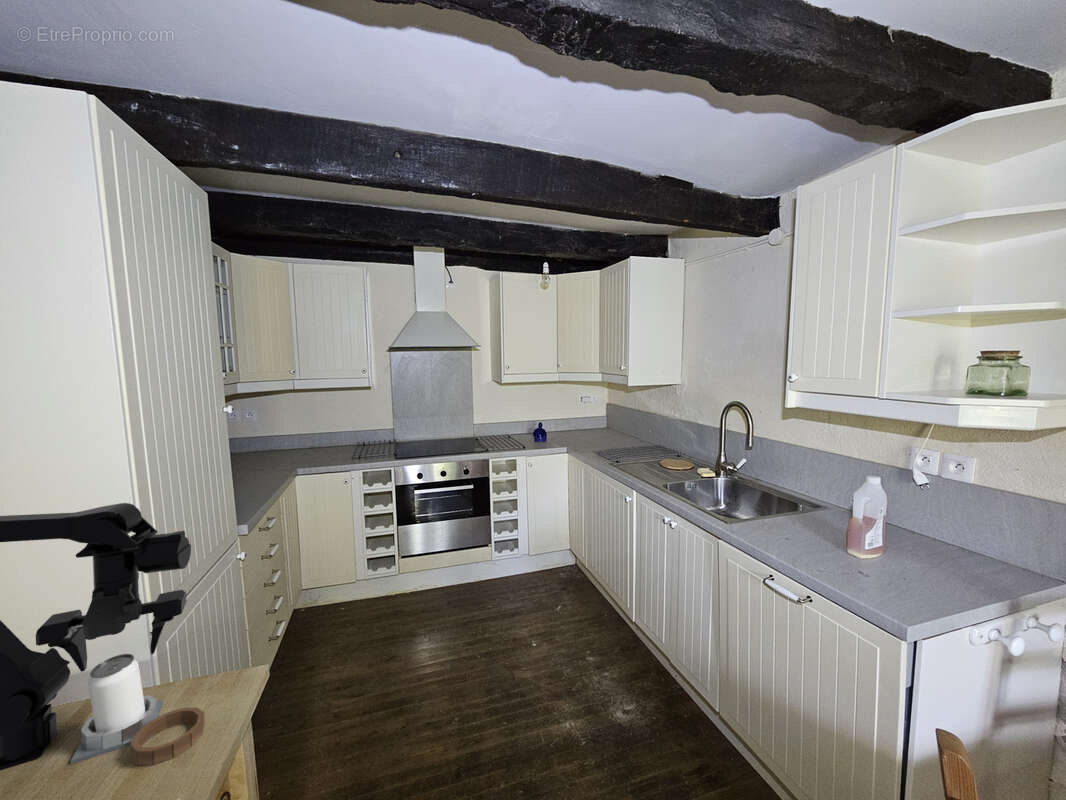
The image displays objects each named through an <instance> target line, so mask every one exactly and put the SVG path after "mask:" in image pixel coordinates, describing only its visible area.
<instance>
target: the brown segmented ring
mask: <svg viewBox="0 0 1066 800" xmlns="http://www.w3.org/2000/svg"><path fill="white" fill-rule="evenodd" d="M182 724H193V726H192V727H190V728H191V729H189V730H187V732H186V733H184V734H183V735H181V736H179V737H178V738H176V739H174V740H172V741H170V742H167V743H164V744H161V745H158V746H143V745H145V744H146V742H148V741H149V740H150V739H149V735H150V734H151V738H152V737H154V736H155V735H157V734H159V733H160V732H162V731H165V730H166V729H169V728H172V727H174V726H178V725H182ZM204 729H205V712H204V711H203V710H201V709H200V708H199V707H181V708H178V709H174V710H170V711H168V712H166V713H163V714H161V715H159V716H158V717H157V718H156V719H154V720H152V721H150V722H148V723H147V724H146V725H145V726H143V727H142V728H141V729H140V730H139V731H138V732H137V733H136V734H135V735H134V737H133V740H132V742H131V745H130V760H131V761H132V762H133V763H134V764H135V765H136V766H156V765H158V764H162V763H164V762H167V761H170V760H172V759H173V758H177V756H180V755H181V754H182V753H184V752H186V751H187V750H189V749H191V747H193V746H194V745H195V744H196V742H197V741H198V740H199V739H200V738H201V737H202V736H203V734H204Z"/></svg>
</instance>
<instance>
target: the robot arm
mask: <svg viewBox="0 0 1066 800" xmlns="http://www.w3.org/2000/svg"><path fill="white" fill-rule="evenodd" d="M130 533H134V534H132V535H129V534H130ZM43 540H45V541H46V540H69V541H73V542H76V543H79V544H86V545H85V546H84V548H83V549H81V550H80V551H79V552H77V553H76V554H75V557H76V558H77V559H79V558H87V557H92V568H93V570H92V571H93V572H92V573H93V590H92V595H91V601H90V603H89V606H88V609H87V612H86V613H85V614H83V612H82V610H81V609H75V610H71V611H70V610H69V611H66V612H59V613H55V614H51V616H50V617H48V618H47V619H46V620H45V622H44V623H42V625H41V626H40V627H39V628H38V629H37V630H36V633H35V645H36V646H39V647H41V646H44V645H47V646H48V647H49V649H47V651H46V652H45V653H44V652H39V651H35V650H31V649H30V648H29V647H28V646H27V645H25V644H24V643H23V641H22V640H21V639H19V637H18V636H17V635H15V634H14V632H13V631H12V629H10V628H9V627H8V626H7V625H6V624H5V623H4V622H3V621H2V620H1V619H0V770H3V769H5V768H9V767H13V766H16V765H19V764H22V763H25V762H29V761H31V760H35V759H38V758H40V757H42V756H43V755H44V754H45V752H46V750H47V748H48V747H49V745H51V744H52V742H53V741H54V739H55V738H56V736H57V735H58V729H57V727H58V726H57V712H54V711H53V710H52V709H53V708H52V703H50V702H51V701H53V700H54V699H55V698H56V697H57V695H58V694H59V692H60V691H61V690H62V689H63V688H64V687H65V686H66V684H67V683H68V681H69V679H70V675H71V670H70V668H69V666H68V665H69V664H70V663H71V661H69V660H67V659H65V658H63V657H62V655H60V653H59V651H58V650H57V649H56V648H55V647H57V648H60V649H63V650H64V651H65V652H67V654H68V655H69V656H70V658H71V659H72V660H73V662H74V664H75V665H76V666H77V668H78V669H79V671H80V672H81V673H82V672H85V671H86V669H87V667H88V652H87V651H88V650H87V641H92V640H95V639H97V638H101V637H106V636H113V635H114V636H115V635H118V634H120V633H122V632H123V631H124V630H125V628H126V624H131V623H132V622H133V621H137V620H140V618H141V616H144V615H148V614H153V617H154V618H153V620H152V622H151V629H152V630H151V637H150V655H154V654H155V652H156V649H157V646H158V643H159V640H160V638H161V635H162V633H163V632H162V631H163V629H164V627H165V625H166V623H167V622H170V621H173V620H174V618H175V617H177V616H179V615H181V614H182V613H183V611H184V609H185V607H186V604H187V592H186V591H184V590H183V589H177V590H174V591H173V590H172V591H168V592H163V593H159V594H158V597H157V598H156V600H153V601H150V602H149V601H147V602H143V603H142V601H141V599H140V596H141V595H140V593H139V589H140V588H139V585H140V584H139V578H140V573H141V572H142V573H144V574H152V573H158V572H159V573H160V572H168V571H175V570H184V569H186V567H187V566H188V564H189V562H190V560H191V554H192V544H190V541H189V538H188V537H187V536H186V531H185V530H179V531H174V532H169V533H158V530H157V529H156V528H155V527H154V526H153V525H151V524H150V523H149V522H148V521H147V520H146V519H145V518H144V517H143V515H142V512H141V511H140V509H139V508H138V507H136V506H135V505H134V504H132V503H129V502H122V503H121V502H120V503H116V504H115V503H114V504H109V505H104V506H98V507H94V508H90V509H86V510H81V511H76V512H59V513H35V514H11V515H10V514H9V515H0V543H9V542H11V543H12V542H27V541H28V542H29V541H43ZM139 572H140V573H139Z"/></svg>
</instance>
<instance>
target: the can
mask: <svg viewBox="0 0 1066 800" xmlns="http://www.w3.org/2000/svg"><path fill="white" fill-rule="evenodd" d="M139 665H140V664H139V663H138V661H137V660H136V659H135V656H134V655H133V654H132V653H123V654H118V655H115V656H112V657H109V658H106V660H103V661H101V662H100V663H98V664H97V665H96V666H95V667H94V668H92V669H91V671H90V674H89V676H90V678H89V680H88V683H87V684H88V686H87V687H88V691H89V697H90V698H89V699H90V703H91V711H92V716H93V717H94V723H95V728H96V733H98V732H108V731H111V730H115V729H118V728H121V727H123V726H125V725H127V724H129V723H131V722H133V721H135V720H137V719H138V718H139V717H141V716H142V715H143V714H144V713H145V705H144V698H143V696H144V692H143V686H142V678H141V671H140V666H139Z"/></svg>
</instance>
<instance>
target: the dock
mask: <svg viewBox="0 0 1066 800" xmlns="http://www.w3.org/2000/svg"><path fill="white" fill-rule="evenodd" d="M143 698H144V705H145V713H144V714H143V715H142V716H141V717H139V718H138V719H137V720H135V721H133V722H131V723H129V724H127V725H125V726H123V727H121V728H118V729H115V730H111V731H108V732H98V733H96V728H95V723H94V717H93V715H92V716H90V717H89V718H88V719H87V720H86V721H85V722H84V724H83V726H82V728H81V729H80V739H81V740H80V743H79V744H78V746H77V748H76V750H75V753H74V754H73V756H72V758H70V759H71V760H70V765H72V764H76V763H79V762H81V761H85V760H88V759H92V758H94V757H95V758H96V757H97V756H98V757H99V756H100V755H104V754H107V753H111V752H113V751H116V750H119V749H122V748H126V747H129V746H131V742H132V740H133V737H134V735H135V734H136V733H137V732H138V731H139V730H140V729H141V728H142V727H143V726H145V725H146V724H147V723H148V722H150V721H152V720H154V719H156V718H157V717H159V716H160V712H161V710H162V707H163V704H164V699H163V700H159V701H158V700H157V699H156V698H155V697H154V696H152V695H143ZM151 738H152V737H151V734H150V735H149V740H150V739H151Z"/></svg>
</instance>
